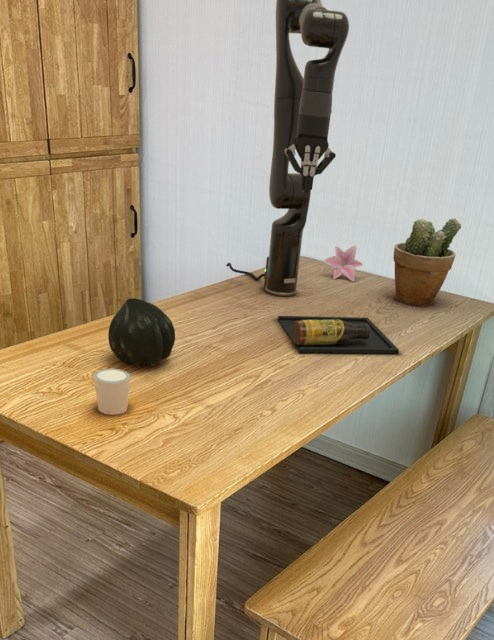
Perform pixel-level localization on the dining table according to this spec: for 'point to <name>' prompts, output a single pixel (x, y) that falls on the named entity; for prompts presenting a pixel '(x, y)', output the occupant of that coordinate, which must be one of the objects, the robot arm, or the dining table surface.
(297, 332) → the sauce bottle
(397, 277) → the potted plant
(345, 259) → the lily
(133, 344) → the squash
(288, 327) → the tray
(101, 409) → the white cup
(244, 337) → the dining table surface
